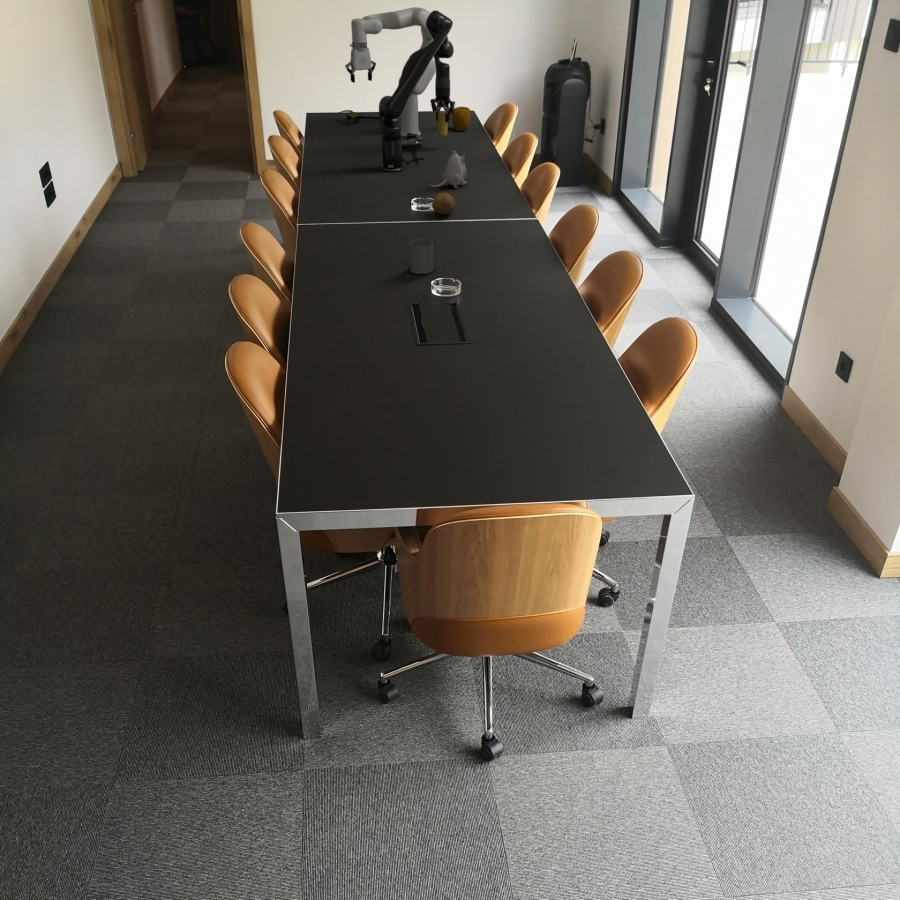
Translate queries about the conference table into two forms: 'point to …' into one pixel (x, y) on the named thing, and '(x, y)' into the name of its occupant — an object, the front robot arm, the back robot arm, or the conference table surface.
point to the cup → (421, 256)
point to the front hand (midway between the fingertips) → (442, 121)
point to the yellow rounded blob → (461, 118)
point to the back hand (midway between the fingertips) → (361, 81)
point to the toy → (454, 171)
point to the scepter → (355, 117)
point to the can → (442, 123)
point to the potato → (443, 203)
